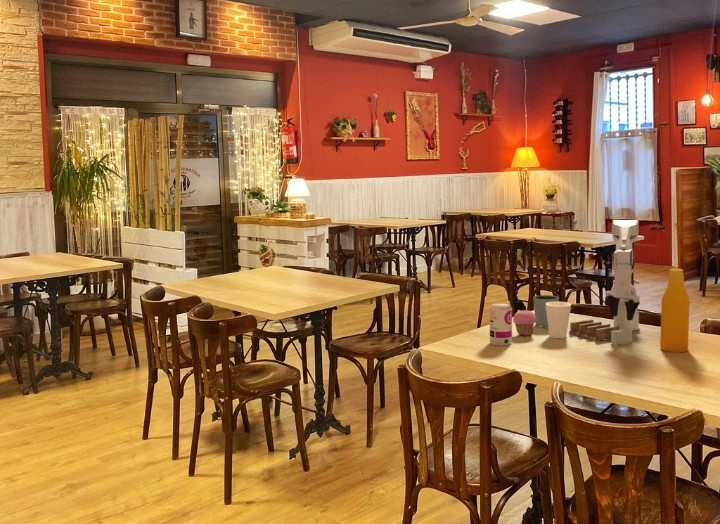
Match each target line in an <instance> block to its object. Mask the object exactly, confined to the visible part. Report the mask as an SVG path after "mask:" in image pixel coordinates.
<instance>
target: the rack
mask: <svg viewBox="0 0 720 524" xmlns="http://www.w3.org/2000/svg"><path fill="white" fill-rule="evenodd" d="M569 323H570V324H569V325H570V326H569V327H570V329H569V331H568V334H569V333H571V334H570V335H572V334H574V335H573V336H575V335H577V336H576V337H579V336H580V337H579V338H582V337H584V338H583V339H586V338H587V340H589V339H591V340H590V341H593V340H595V341H594V342H596V341H598V342H600V341H599V340H604V339H610V340H611V331H616V330H619V326H611V323H603V322H602V321H599V320H598V321H594V319H586V320H578V321H572V322H571V321H570V322H569ZM604 341H605V340H604Z"/></svg>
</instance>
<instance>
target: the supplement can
mask: <svg viewBox="0 0 720 524" xmlns="http://www.w3.org/2000/svg"><path fill="white" fill-rule="evenodd" d="M489 342H490V343H491V345H493V346H499V347H503V346H504V347H505V346H509V345H511V344H512V343H513V307H512V306H511V304H510V303H506V302H496V303H492V304H490V307H489Z"/></svg>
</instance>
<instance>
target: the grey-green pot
mask: <svg viewBox="0 0 720 524" xmlns="http://www.w3.org/2000/svg"><path fill="white" fill-rule="evenodd" d="M532 298H533V299H532V300H533V301H532V302H533V306H534V307H533V309H534V310H533V311H534V314H535V316H536V322H535V323H534V324H535V326H536V325H537V326H536V327H538V326H542V327H541V328H544V327H548V321H547V312H546V303H548V302H559V297H558V296H556V295H553V294H552V295H550V294H549V295H548V294H547V295H546V294H541V295H535V296H533V297H532Z"/></svg>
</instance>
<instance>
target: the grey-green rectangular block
mask: <svg viewBox="0 0 720 524" xmlns="http://www.w3.org/2000/svg"><path fill="white" fill-rule="evenodd" d="M630 342H633V330H631V329H622V330H616V331H611V339H610V344H611V343H612V344H615V345H614V346H618V345H617V344H621V345H624V344H623V343H627V344H631V343H630ZM612 344H611V345H612Z"/></svg>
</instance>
